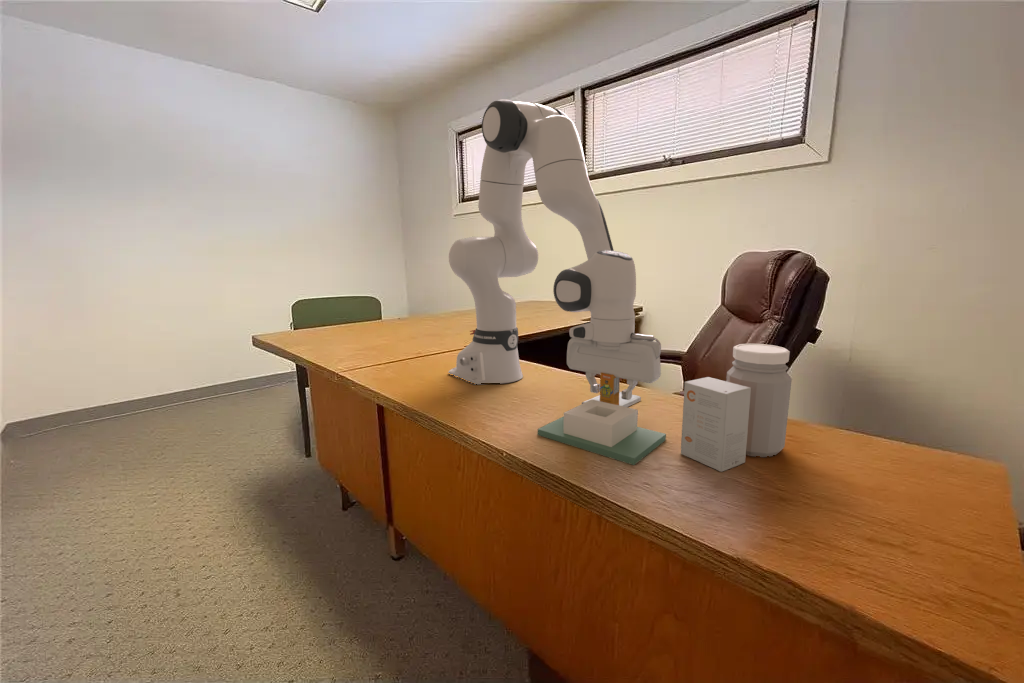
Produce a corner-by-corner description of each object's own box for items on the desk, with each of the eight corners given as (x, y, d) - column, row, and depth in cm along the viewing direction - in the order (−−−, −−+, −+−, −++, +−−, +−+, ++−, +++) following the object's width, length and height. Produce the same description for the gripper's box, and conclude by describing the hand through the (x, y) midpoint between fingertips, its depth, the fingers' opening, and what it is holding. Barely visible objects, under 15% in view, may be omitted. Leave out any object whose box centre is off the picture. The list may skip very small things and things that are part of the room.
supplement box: (597, 418, 95) (598, 372, 93) (605, 413, 97) (606, 369, 95) (612, 421, 92) (613, 374, 91) (619, 416, 95) (621, 371, 93)
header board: (537, 434, 86) (537, 409, 85) (574, 416, 96) (574, 392, 95) (634, 465, 73) (635, 435, 72) (665, 439, 83) (667, 413, 82)
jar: (718, 451, 78) (726, 350, 74) (724, 432, 86) (731, 340, 82) (784, 464, 73) (795, 356, 69) (783, 442, 81) (793, 345, 78)
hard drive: (612, 409, 96) (641, 395, 105) (581, 401, 102) (611, 389, 111) (612, 417, 97) (640, 402, 105) (581, 408, 102) (610, 395, 111)
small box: (745, 463, 73) (752, 387, 71) (720, 473, 70) (727, 393, 68) (703, 445, 80) (708, 375, 78) (679, 453, 77) (683, 381, 75)
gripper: (667, 334, 87) (664, 401, 90) (578, 324, 101) (578, 383, 103) (654, 338, 83) (651, 410, 85) (562, 328, 96) (562, 390, 99)
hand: (610, 395), depth 94 cm, fingers open, 6 cm apart
